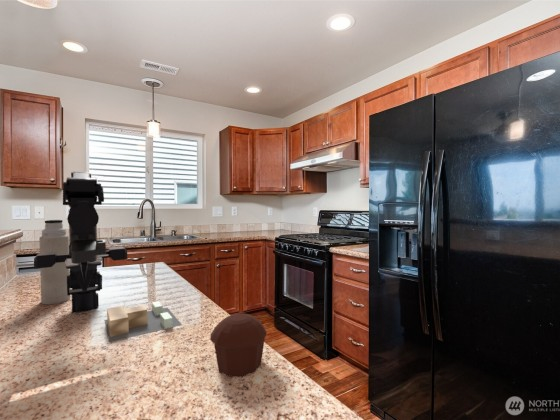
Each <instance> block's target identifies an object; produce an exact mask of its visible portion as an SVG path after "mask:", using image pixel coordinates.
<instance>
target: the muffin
mask: <svg viewBox="0 0 560 420" xmlns="http://www.w3.org/2000/svg"><path fill="white" fill-rule="evenodd" d="M209 337H210V341H211V342H212V343H213V344H214V350H215V351H214V352H215V359H216V364H217V368H218V372H219V373H221V374H223V375H225V376H226V377H231V378H232V377H233V378H234V377H240V378H244V377H245V376H247V375H250V374H254V373H256V371H257V370H258V369H259V368H260V367H261V365H262V360H263V359H262V358H263V351H264V344H265V338H266V337H267V330H266V327H265V326H264V324H263V323H262V322H261V320H259V319H258V318H256V317H255V316H253V315H252V314H249V313H235V314H231V315H228V316H226V317H224V318H223V319H222V320H221V321H219V323H217V324H216V326H215V327H214V329H212V331H211V333H210V336H209Z"/></svg>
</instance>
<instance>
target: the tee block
mask: <svg viewBox="0 0 560 420" xmlns="http://www.w3.org/2000/svg"><path fill="white" fill-rule="evenodd" d="M147 311H148V308H147V307H146V305H145V304H144V305H139V306H133V307H128V308H125V306H124V305H120V306H115V307H109V308H107V309H106V317H107V319H106V320H107V324H108V328H109V332H110V337H112V336H117V335H121V334H125V333H129V328H132V327H136V326H141V325H145V324H148V312H147Z"/></svg>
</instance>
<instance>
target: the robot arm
mask: <svg viewBox="0 0 560 420" xmlns="http://www.w3.org/2000/svg"><path fill="white" fill-rule="evenodd" d="M104 202H105V195H104V187H103V186H102V183H100V182H98V179H97V178H96V177H95V178H94V177H92V172H88V171H72V172H70V177H66V181H63V182H62V205H63V206H68V207H69V209H68V215H67V217H66V218H67V219H66V220H67V223H68V236H69V254H63V255H57V252H47V253H40V252H38V254H36V256H35V257H34V259H33V269H35V270H36V269H40V268H48V267H52V266H53V265H54V264H55V263H59V262H65V263H66V269H69V275H67V296H68V295H70V296H71V314H74V313H83V312H84V313H85V312H89V311H92V310H96V309H98V308H99V306H100V305H99V293H97V292H100V291H101V290H103V274H101V273H100V272H101V271H98V266H102V265H103V263H102V261H103V259H109V258H110V259H111V260H113V261H123V260H124V261H125V260H128V250H127V249H126V248H125V247H124V246H121V245H120V246H113V247H111V246H110V247H108V248H107V245H106V244H107V243H106V242H107V241H106V239H98V229H97V227H98V223H99V220H100V219H99V214H98V212H97V209H96V208H95V206H102V205H103V203H104Z"/></svg>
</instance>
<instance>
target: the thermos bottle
mask: <svg viewBox="0 0 560 420" xmlns="http://www.w3.org/2000/svg"><path fill="white" fill-rule="evenodd" d="M44 224H45V225H44V229H42V230H41V236H39V253H47V252H57V255H63V254H69V234H67V230H66V228H64V227H63V226H64V225H63V219H48V220H44ZM39 269H40V270H39V271H40V273H39V274H40V303H41V304H42V305H57V304H60V303H64V302H67V301H69V300H70V299H71V295H68V296H67V275H70V269H66V263H65V262H59V263H55V264H54V265H53V266H52V267H48V268H39Z"/></svg>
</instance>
